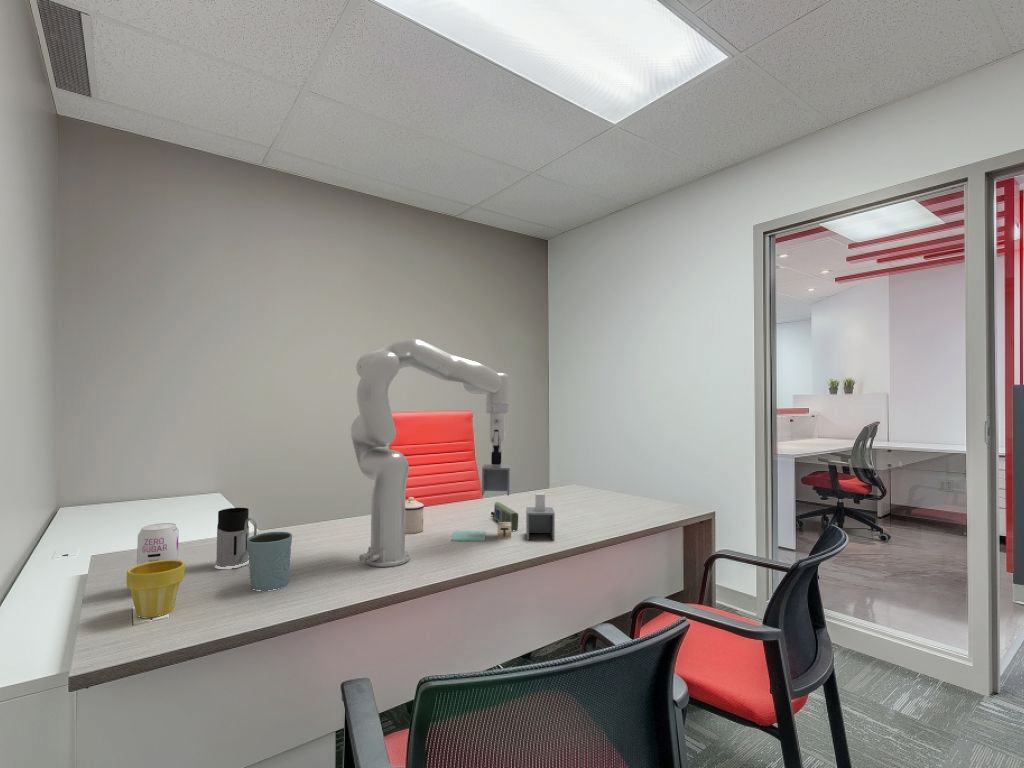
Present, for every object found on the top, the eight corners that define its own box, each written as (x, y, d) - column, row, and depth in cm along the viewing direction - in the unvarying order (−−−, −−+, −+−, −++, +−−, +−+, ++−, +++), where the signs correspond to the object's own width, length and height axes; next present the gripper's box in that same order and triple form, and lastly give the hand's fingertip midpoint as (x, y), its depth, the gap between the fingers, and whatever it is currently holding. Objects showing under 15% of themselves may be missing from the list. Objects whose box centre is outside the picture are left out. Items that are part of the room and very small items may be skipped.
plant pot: (175, 598, 119) (176, 555, 119) (190, 611, 112) (191, 565, 112) (120, 612, 111) (121, 566, 111) (132, 626, 104) (134, 578, 105)
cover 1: (509, 495, 169) (509, 451, 170) (481, 495, 169) (482, 450, 170) (509, 490, 178) (510, 448, 179) (483, 490, 178) (484, 448, 179)
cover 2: (554, 540, 169) (554, 496, 170) (527, 540, 169) (527, 496, 169) (552, 533, 178) (552, 491, 178) (526, 533, 178) (526, 491, 178)
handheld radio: (509, 532, 180) (487, 516, 204) (518, 531, 182) (495, 516, 205) (510, 513, 181) (488, 499, 204) (519, 512, 182) (496, 499, 205)
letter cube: (511, 539, 171) (511, 525, 171) (497, 539, 171) (497, 525, 171) (511, 535, 176) (511, 522, 176) (498, 535, 176) (498, 522, 176)
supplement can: (170, 580, 131) (171, 520, 131) (182, 587, 126) (183, 526, 126) (131, 589, 125) (133, 526, 125) (142, 597, 119) (144, 532, 120)
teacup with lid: (428, 531, 180) (428, 498, 180) (404, 535, 174) (405, 501, 175) (412, 524, 189) (412, 492, 190) (389, 528, 184) (389, 495, 184)
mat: (484, 541, 168) (484, 539, 168) (450, 541, 168) (450, 539, 168) (486, 532, 179) (486, 530, 179) (454, 532, 179) (454, 530, 179)
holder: (237, 557, 149) (238, 505, 150) (269, 565, 143) (270, 511, 143) (207, 566, 142) (208, 511, 142) (239, 575, 135) (241, 517, 135)
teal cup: (297, 585, 127) (298, 537, 128) (253, 596, 121) (254, 544, 121) (282, 575, 135) (283, 529, 135) (240, 584, 128) (241, 536, 128)
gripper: (507, 409, 167) (506, 466, 166) (508, 409, 183) (507, 461, 182) (484, 409, 167) (483, 466, 166) (487, 408, 183) (486, 460, 182)
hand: (496, 463), depth 174 cm, fingers closed on cover 1, 3 cm apart
